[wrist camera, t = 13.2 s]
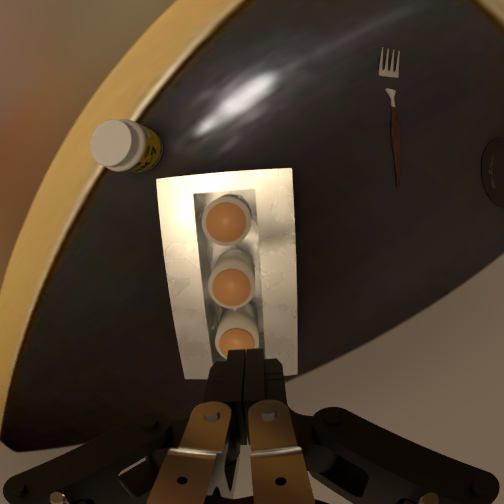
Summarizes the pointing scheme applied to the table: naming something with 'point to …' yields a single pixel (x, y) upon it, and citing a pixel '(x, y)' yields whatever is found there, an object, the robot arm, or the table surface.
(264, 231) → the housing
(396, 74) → the fork
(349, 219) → the table surface
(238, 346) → the knob
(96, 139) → the supplement bottle
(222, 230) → the knob
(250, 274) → the knob
